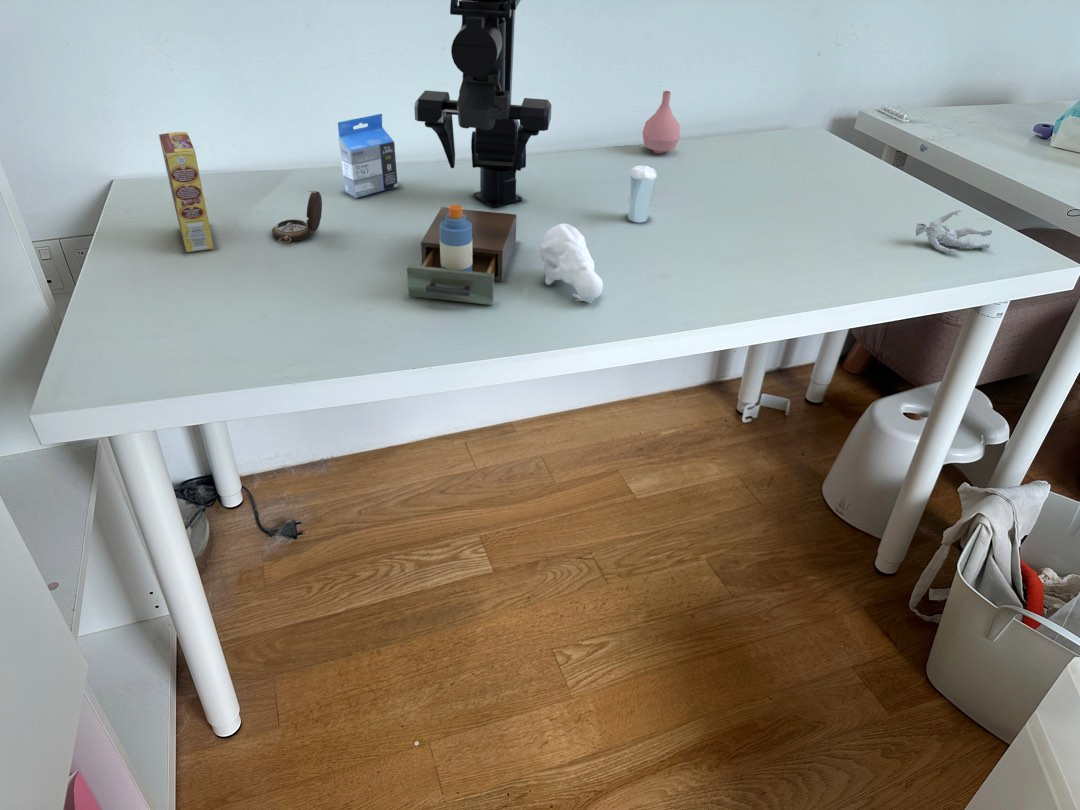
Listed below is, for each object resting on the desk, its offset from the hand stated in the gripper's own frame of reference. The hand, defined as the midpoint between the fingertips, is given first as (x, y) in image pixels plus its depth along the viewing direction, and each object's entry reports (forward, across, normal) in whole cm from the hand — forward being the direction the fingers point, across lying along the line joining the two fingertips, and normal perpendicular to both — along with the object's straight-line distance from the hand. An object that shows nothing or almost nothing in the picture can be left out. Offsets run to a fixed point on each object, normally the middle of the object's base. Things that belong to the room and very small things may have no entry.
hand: (483, 169), depth 117 cm
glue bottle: (+12, -2, -13) cm, 17 cm away
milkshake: (+13, +25, +17) cm, 33 cm away
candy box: (+13, -44, -5) cm, 46 cm away
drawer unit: (+13, -2, -3) cm, 13 cm away
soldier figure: (+13, +77, +17) cm, 80 cm away
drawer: (+13, -2, -11) cm, 17 cm away
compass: (+13, -30, -1) cm, 33 cm away
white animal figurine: (+13, +15, -10) cm, 22 cm away
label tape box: (+13, -23, +20) cm, 34 cm away
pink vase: (+13, +29, +52) cm, 61 cm away
